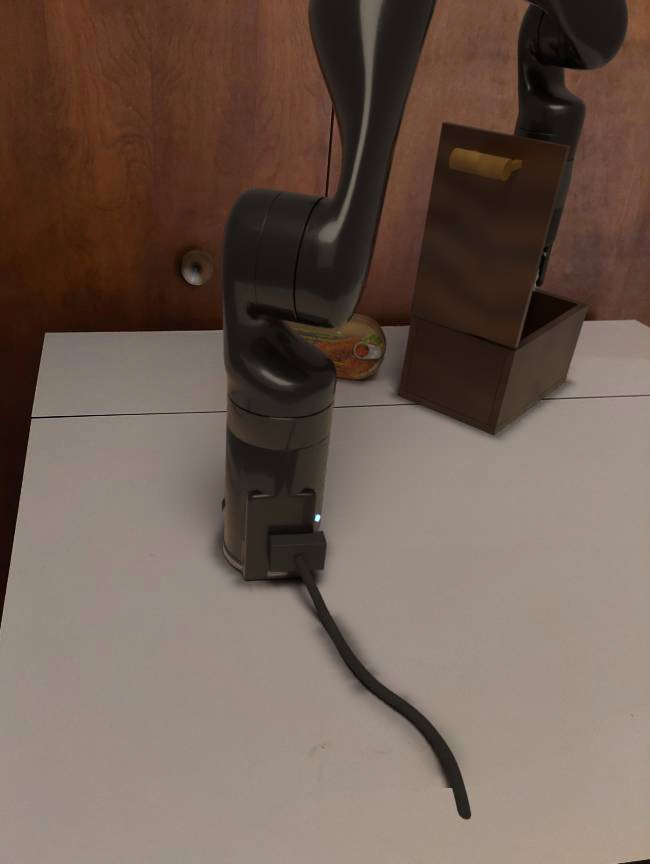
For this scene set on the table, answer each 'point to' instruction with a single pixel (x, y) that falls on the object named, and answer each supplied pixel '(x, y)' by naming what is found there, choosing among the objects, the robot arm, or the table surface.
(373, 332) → the tin
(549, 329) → the chest
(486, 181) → the lid
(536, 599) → the table surface
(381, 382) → the table surface
